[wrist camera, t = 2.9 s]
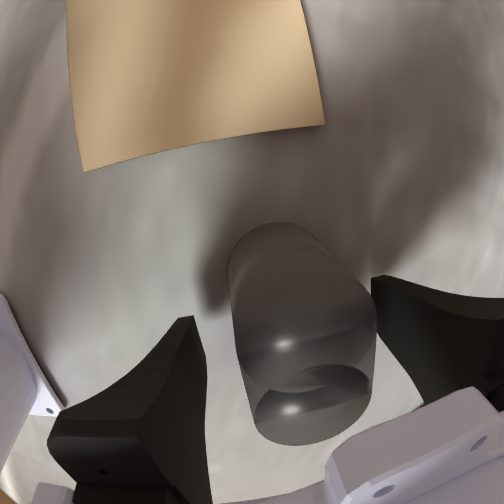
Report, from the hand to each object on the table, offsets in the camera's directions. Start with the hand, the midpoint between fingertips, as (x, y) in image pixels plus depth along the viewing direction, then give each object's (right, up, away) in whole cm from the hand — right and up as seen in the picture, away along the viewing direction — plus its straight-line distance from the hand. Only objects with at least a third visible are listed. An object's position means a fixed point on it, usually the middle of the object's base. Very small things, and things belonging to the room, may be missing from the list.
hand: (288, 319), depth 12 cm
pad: (-4, +11, -3) cm, 12 cm away
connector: (0, 0, +1) cm, 2 cm away
